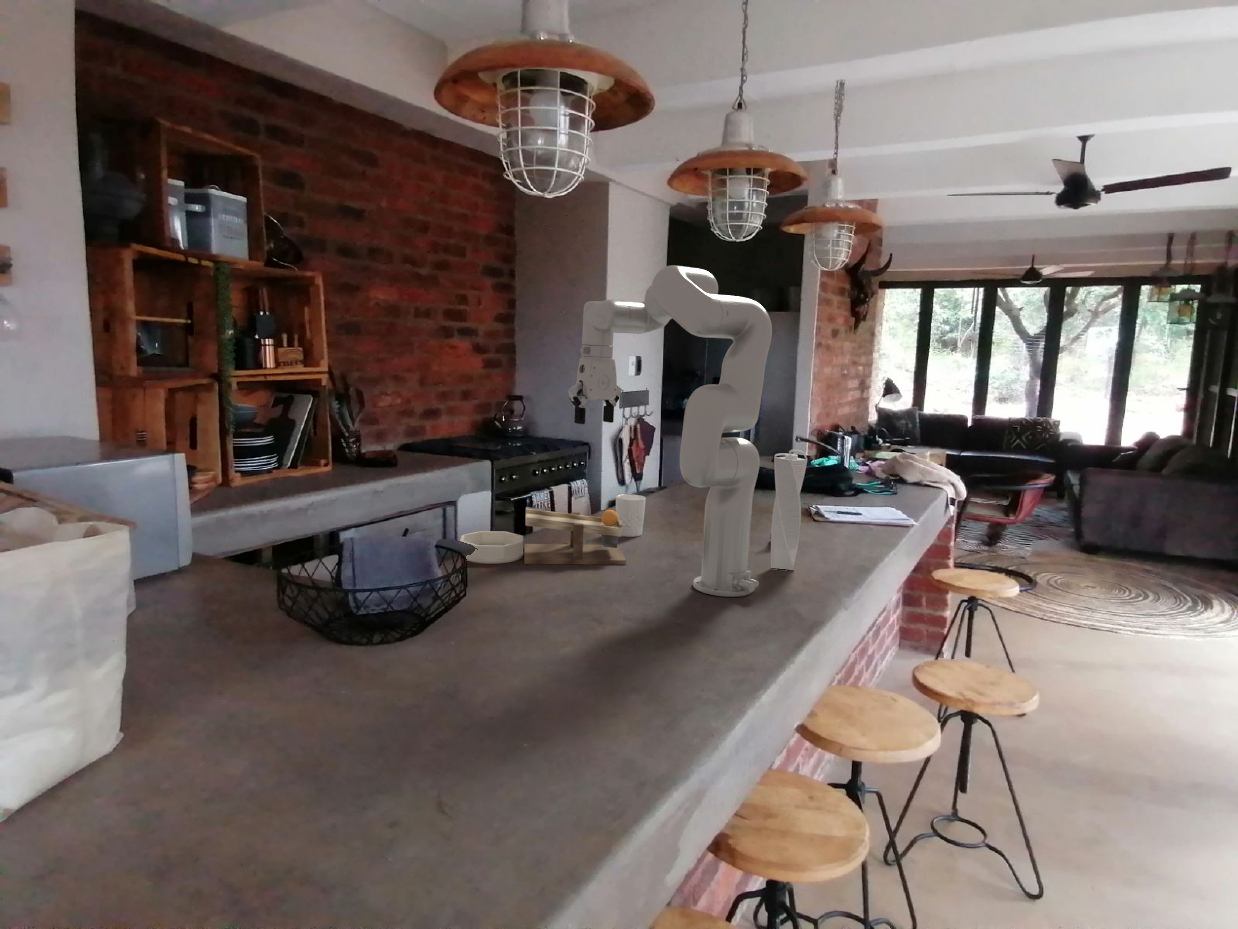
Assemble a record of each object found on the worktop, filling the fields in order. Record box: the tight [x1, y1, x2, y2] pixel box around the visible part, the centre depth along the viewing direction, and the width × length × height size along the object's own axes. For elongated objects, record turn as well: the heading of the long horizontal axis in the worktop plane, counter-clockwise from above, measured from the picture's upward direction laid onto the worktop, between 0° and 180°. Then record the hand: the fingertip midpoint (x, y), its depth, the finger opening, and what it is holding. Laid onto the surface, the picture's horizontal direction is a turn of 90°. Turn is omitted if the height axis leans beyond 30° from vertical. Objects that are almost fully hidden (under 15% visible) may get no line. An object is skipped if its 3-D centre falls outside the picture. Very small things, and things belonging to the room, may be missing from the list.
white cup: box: [615, 493, 647, 538], centre depth 210 cm, size 8×8×10 cm
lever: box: [524, 506, 623, 548], centre depth 188 cm, size 22×16×6 cm
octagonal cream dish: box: [459, 530, 524, 565], centre depth 183 cm, size 14×14×4 cm
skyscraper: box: [770, 448, 808, 571], centre depth 182 cm, size 8×8×28 cm
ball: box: [601, 509, 618, 527], centre depth 186 cm, size 4×4×4 cm
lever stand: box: [523, 511, 627, 566], centre depth 185 cm, size 23×14×9 cm, turn 97°
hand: (594, 422), depth 196 cm, fingers open, 9 cm apart
